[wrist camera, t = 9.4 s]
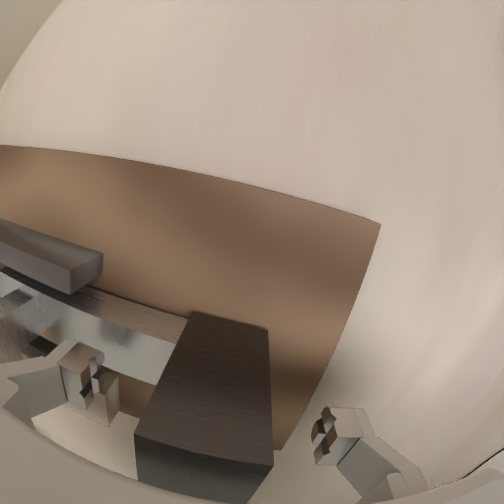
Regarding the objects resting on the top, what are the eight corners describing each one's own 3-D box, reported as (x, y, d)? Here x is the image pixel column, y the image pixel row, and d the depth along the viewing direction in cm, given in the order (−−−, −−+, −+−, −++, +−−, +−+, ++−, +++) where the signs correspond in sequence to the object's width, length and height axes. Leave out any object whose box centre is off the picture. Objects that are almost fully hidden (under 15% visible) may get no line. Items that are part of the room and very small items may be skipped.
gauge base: (280, 436, 15) (285, 531, 8) (-12, 324, 14) (-65, 363, 7) (370, 220, 12) (480, 266, 5) (-15, 144, 11) (-92, 147, 4)
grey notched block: (235, 425, 13) (224, 531, 6) (32, 349, 12) (-30, 407, 6) (268, 329, 11) (273, 465, 5) (22, 252, 11) (-71, 294, 4)
